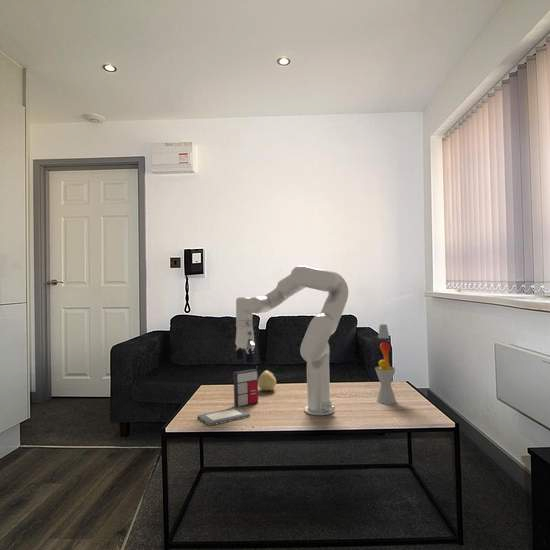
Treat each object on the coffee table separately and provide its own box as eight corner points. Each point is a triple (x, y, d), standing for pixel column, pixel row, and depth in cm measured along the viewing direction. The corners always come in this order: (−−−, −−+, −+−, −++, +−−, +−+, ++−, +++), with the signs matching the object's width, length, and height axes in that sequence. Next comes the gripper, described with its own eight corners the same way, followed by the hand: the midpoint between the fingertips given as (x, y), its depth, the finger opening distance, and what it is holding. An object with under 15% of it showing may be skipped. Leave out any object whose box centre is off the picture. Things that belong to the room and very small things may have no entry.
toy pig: (278, 387, 197) (277, 367, 198) (275, 393, 185) (274, 372, 186) (260, 387, 199) (259, 367, 199) (256, 393, 187) (255, 372, 187)
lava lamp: (385, 397, 174) (382, 323, 176) (401, 401, 167) (397, 324, 168) (371, 400, 169) (368, 324, 171) (387, 405, 162) (384, 325, 163)
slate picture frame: (250, 416, 152) (249, 413, 152) (209, 426, 142) (209, 423, 142) (236, 409, 162) (236, 406, 162) (197, 417, 152) (197, 415, 153)
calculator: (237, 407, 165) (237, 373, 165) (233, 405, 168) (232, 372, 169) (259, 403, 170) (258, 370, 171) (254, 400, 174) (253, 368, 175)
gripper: (260, 324, 166) (261, 362, 165) (242, 322, 181) (242, 357, 180) (246, 325, 162) (246, 364, 161) (228, 322, 176) (229, 358, 176)
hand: (244, 360), depth 171 cm, fingers open, 9 cm apart
